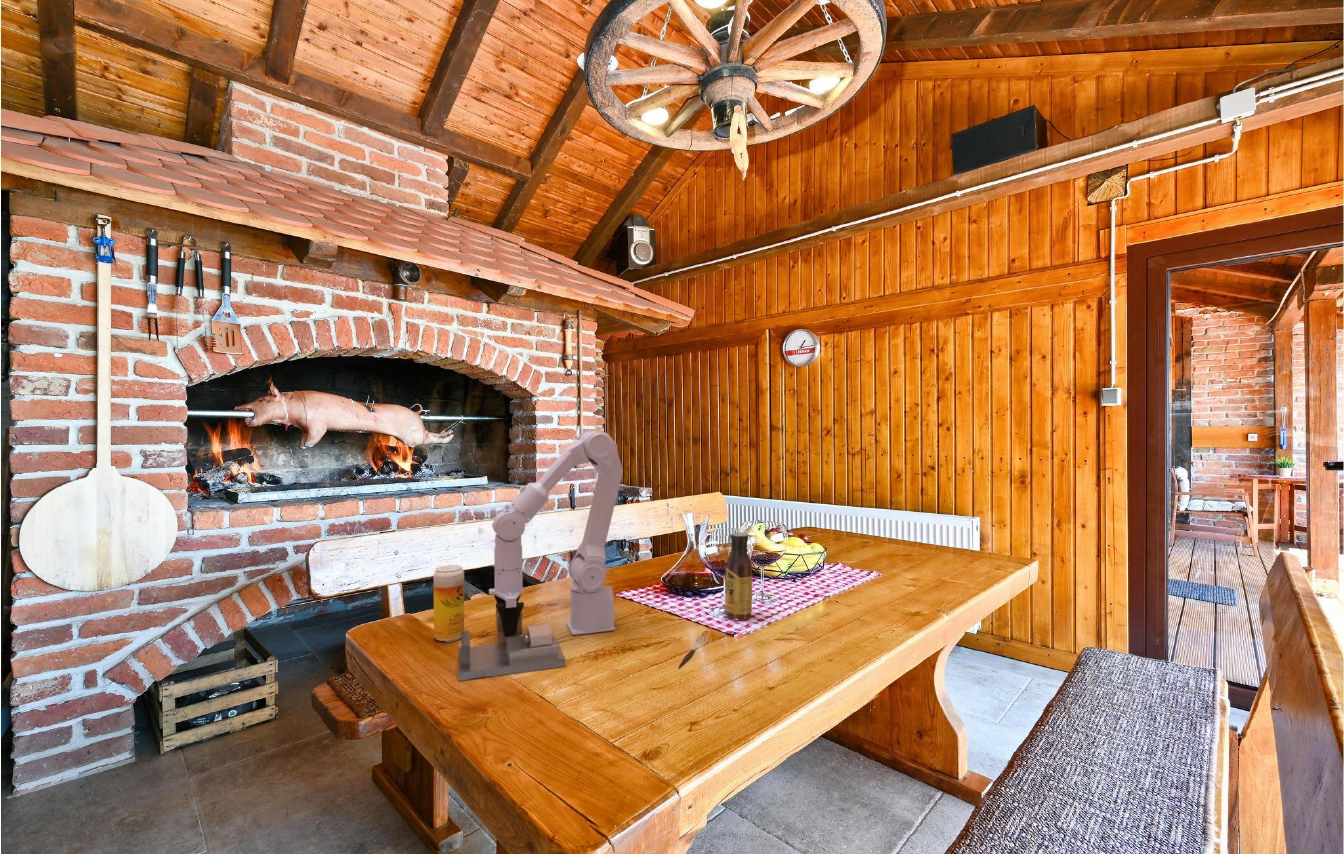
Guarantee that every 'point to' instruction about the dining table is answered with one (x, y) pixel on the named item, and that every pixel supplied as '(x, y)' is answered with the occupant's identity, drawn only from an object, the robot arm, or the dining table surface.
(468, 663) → the press frame
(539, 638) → the ram
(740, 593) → the sauce bottle
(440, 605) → the beer can
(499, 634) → the block
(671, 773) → the dining table surface
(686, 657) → the fork
